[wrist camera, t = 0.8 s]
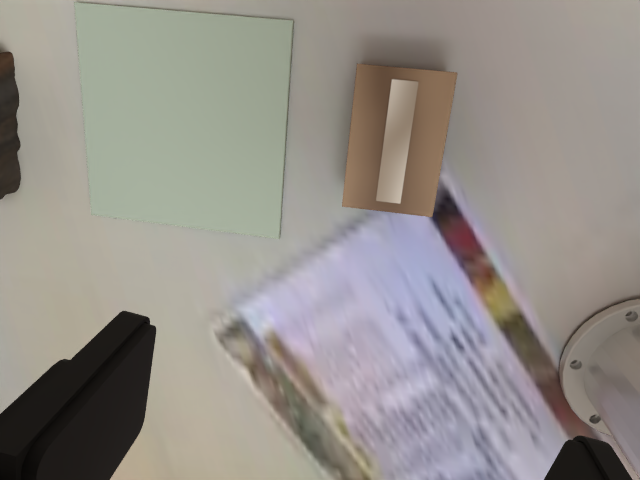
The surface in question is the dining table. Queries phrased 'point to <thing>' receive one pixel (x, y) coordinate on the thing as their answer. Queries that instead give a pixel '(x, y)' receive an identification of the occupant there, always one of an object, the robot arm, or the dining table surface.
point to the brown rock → (8, 127)
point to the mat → (185, 116)
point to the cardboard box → (397, 138)
